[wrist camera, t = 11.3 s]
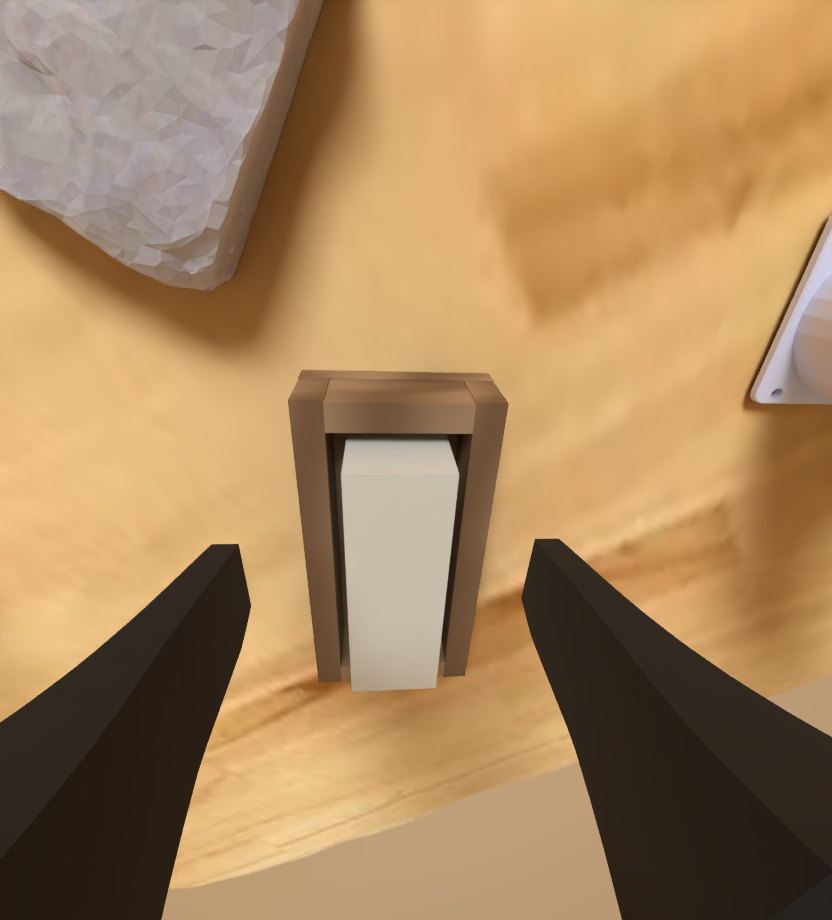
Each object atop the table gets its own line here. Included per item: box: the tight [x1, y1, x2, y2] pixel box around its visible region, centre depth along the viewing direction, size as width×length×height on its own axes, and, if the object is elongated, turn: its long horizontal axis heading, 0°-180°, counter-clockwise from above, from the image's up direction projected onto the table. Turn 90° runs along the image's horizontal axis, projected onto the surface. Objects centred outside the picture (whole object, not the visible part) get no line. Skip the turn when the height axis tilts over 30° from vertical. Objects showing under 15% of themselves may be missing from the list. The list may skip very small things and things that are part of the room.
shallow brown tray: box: [288, 370, 508, 682], centre depth 21 cm, size 8×16×4 cm, turn 178°
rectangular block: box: [341, 433, 459, 692], centre depth 19 cm, size 4×12×4 cm, turn 178°
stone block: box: [0, 0, 324, 290], centre depth 12 cm, size 12×5×10 cm
